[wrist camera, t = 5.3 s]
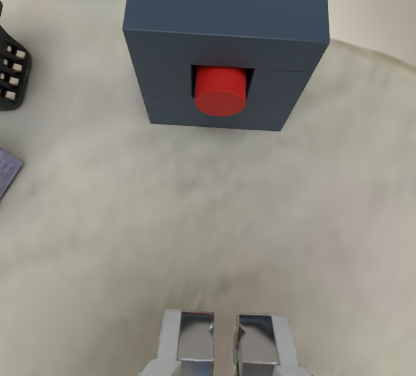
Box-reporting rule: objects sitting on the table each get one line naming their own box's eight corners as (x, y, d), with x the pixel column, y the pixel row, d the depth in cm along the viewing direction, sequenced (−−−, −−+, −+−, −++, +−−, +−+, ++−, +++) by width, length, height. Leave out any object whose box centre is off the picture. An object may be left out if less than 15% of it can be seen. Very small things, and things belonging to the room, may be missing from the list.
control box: (280, 131, 31) (330, 42, 19) (150, 123, 31) (122, 29, 19) (279, 66, 33) (325, -52, 21) (157, 58, 32) (135, -65, 21)
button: (241, 118, 25) (249, 92, 22) (194, 115, 25) (194, 89, 22) (242, 80, 26) (249, 49, 23) (197, 77, 26) (197, 46, 23)
